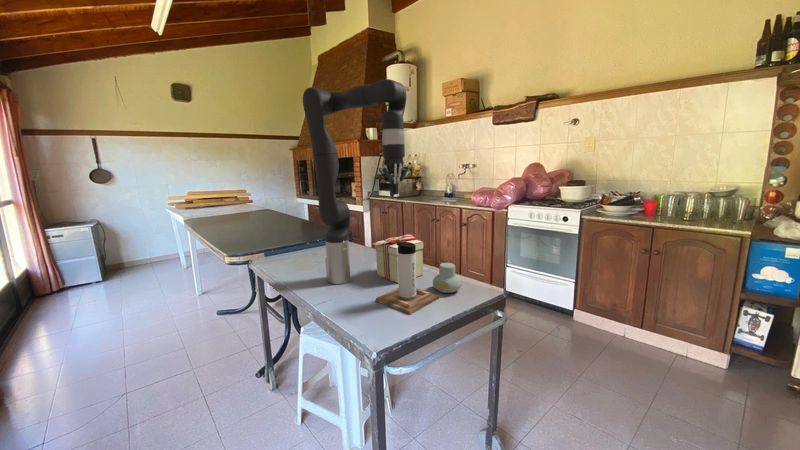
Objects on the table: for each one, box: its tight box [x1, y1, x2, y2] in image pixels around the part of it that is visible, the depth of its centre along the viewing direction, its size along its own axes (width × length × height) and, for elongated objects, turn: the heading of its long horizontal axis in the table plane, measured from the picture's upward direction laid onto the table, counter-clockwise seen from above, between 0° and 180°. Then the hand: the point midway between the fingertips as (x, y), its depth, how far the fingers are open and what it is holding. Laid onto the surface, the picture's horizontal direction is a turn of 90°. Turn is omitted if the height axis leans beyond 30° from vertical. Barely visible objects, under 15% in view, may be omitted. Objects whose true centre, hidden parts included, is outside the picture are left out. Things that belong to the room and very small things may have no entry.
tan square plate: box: [375, 287, 440, 315], centre depth 115 cm, size 16×16×2 cm
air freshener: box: [432, 262, 463, 294], centre depth 122 cm, size 11×8×10 cm
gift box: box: [371, 233, 424, 284], centre depth 138 cm, size 17×18×17 cm
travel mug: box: [397, 242, 417, 300], centre depth 113 cm, size 6×7×20 cm
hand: (394, 194), depth 114 cm, fingers closed
